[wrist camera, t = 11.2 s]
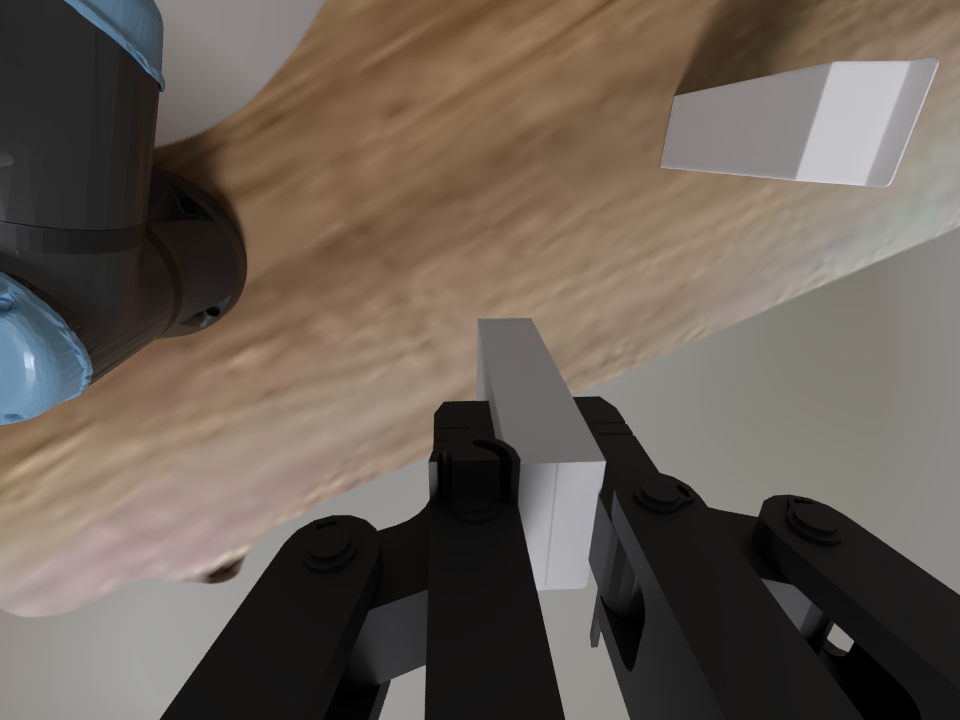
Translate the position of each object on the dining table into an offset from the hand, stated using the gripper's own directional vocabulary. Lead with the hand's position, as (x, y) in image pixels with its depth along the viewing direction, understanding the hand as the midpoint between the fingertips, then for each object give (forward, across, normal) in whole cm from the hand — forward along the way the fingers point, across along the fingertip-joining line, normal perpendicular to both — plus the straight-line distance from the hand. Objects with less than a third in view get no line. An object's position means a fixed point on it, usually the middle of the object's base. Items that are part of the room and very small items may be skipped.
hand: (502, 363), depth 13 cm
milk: (+35, +22, +7) cm, 42 cm away
